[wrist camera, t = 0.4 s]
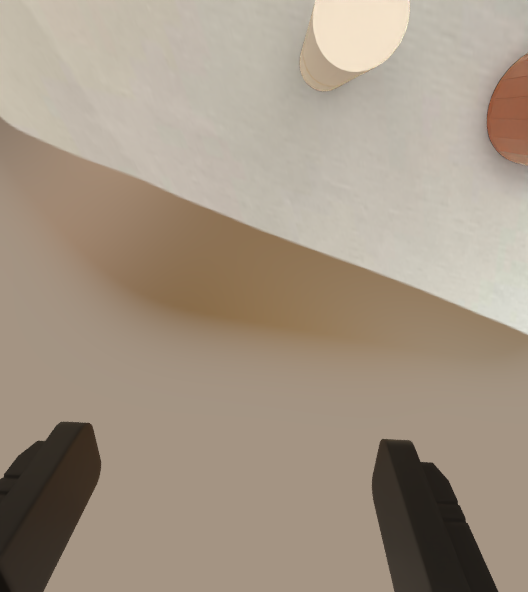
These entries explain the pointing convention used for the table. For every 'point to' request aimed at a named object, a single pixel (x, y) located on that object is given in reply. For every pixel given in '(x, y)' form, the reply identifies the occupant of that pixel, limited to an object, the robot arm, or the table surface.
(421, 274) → the table surface
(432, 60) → the table surface
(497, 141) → the pen cup
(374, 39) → the tube
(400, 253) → the table surface
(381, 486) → the robot arm
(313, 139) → the table surface
